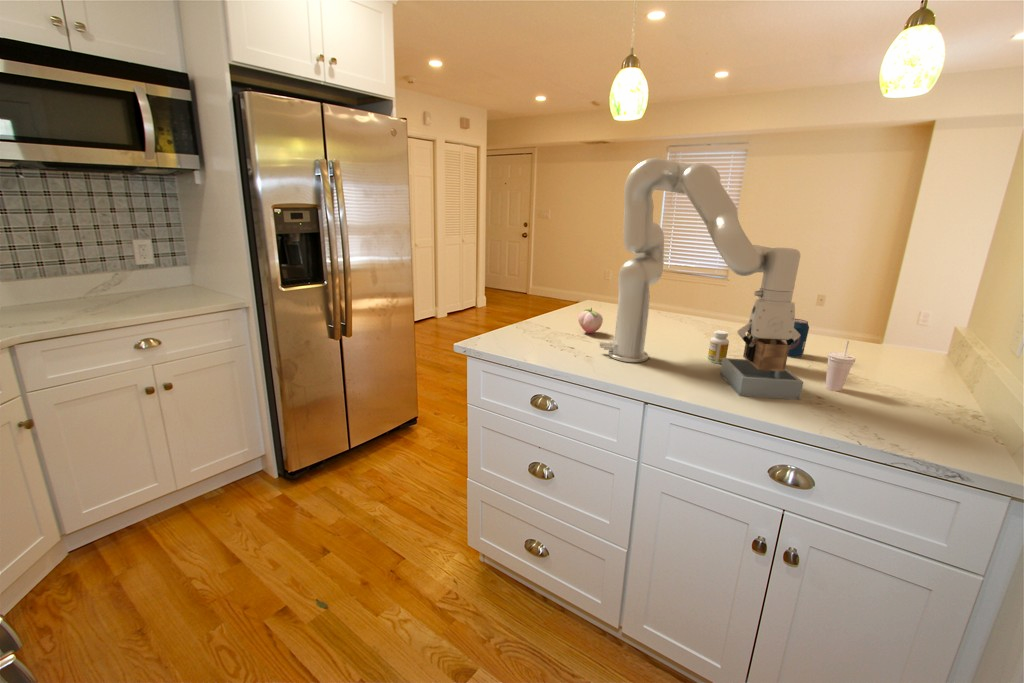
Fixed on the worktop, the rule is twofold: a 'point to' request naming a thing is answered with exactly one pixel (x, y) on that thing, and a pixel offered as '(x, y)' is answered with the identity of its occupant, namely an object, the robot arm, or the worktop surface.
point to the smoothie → (838, 369)
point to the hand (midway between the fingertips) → (763, 360)
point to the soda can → (799, 344)
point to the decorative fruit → (590, 320)
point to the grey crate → (760, 380)
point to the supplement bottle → (718, 347)
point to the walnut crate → (769, 354)
